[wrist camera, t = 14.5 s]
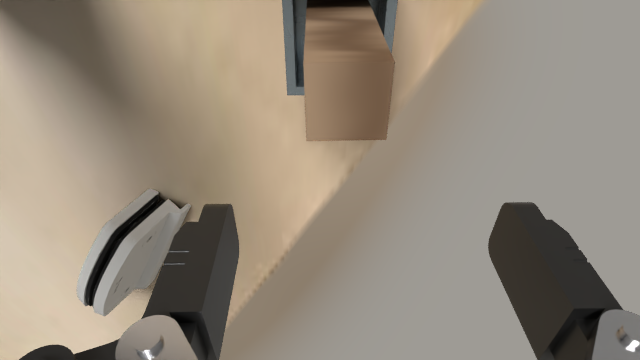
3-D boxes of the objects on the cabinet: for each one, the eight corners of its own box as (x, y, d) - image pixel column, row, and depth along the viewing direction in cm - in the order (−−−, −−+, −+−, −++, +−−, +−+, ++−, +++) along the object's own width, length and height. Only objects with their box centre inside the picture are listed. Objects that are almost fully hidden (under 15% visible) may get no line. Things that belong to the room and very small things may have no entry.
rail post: (308, 54, 29) (306, 141, 20) (307, -4, 27) (303, 63, 17) (362, 53, 29) (386, 139, 20) (366, -5, 27) (394, 61, 17)
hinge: (153, 281, 55) (99, 338, 46) (125, 262, 55) (65, 315, 46) (192, 203, 46) (133, 255, 37) (158, 180, 46) (92, 227, 37)
